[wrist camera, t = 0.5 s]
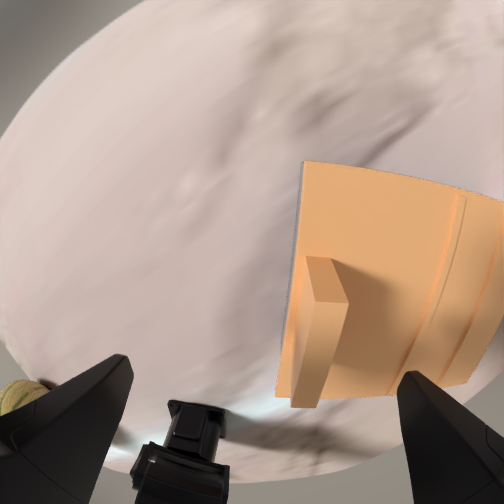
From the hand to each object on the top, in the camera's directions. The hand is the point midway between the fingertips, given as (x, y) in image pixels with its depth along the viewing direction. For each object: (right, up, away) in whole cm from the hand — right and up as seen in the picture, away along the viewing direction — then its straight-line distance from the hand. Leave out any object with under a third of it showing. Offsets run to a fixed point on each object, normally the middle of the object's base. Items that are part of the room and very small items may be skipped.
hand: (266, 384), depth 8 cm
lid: (+10, +1, +6) cm, 12 cm away
